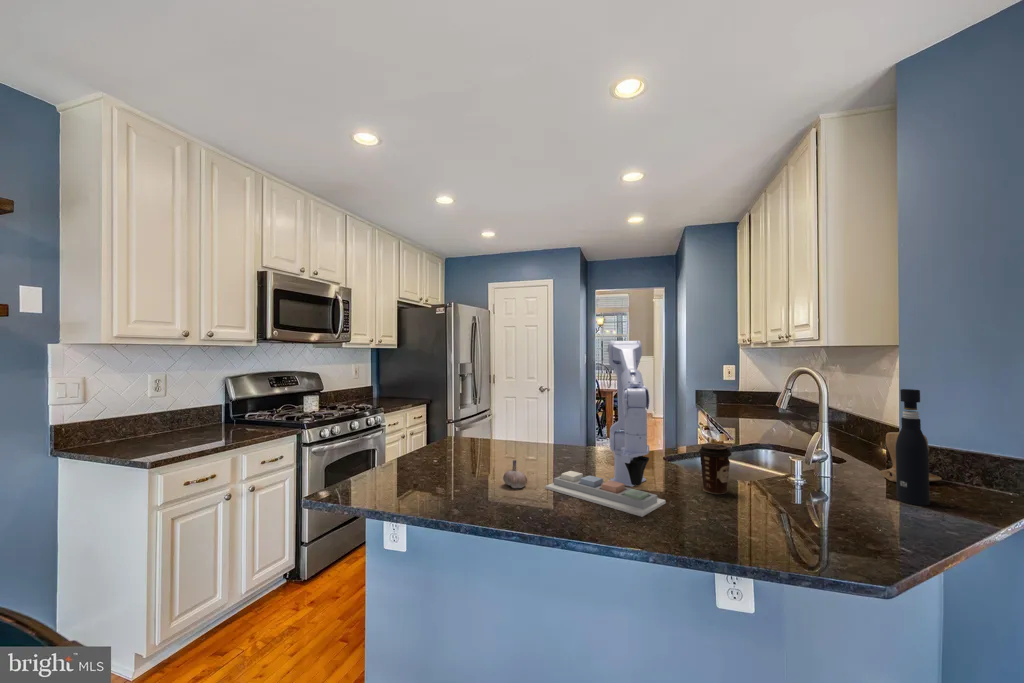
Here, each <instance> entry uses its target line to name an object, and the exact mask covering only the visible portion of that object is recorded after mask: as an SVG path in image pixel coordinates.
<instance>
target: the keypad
mask: <svg viewBox="0 0 1024 683" xmlns="http://www.w3.org/2000/svg"><path fill="white" fill-rule="evenodd" d="M584 477H585V476H583V478H584ZM605 482H606V481H603V483H605ZM544 489H546V490H549V491H553V492H556V493H560V494H563V495H567V496H570V497H574V498H577V499H580V500H583V501H587V502H589V503H594V504H597V505H600V506H604V507H608V508H611V509H615V510H618V511H620V512H625V513H627V514H631V515H635V516H638V517H642V518H643V517H645V516H646V515H648V514H650V513H651V512H653V511H655V510H656V509H659V508H660V507H662V506H664V505H665V504H667V503H666V499H663V498H660V497H658V495H657V494H655V493H650V492H648V493H649V497H647V498H645V499H643V500H639V499H635V498H632V497H628V496H624V493H625V492H627V491H629V490H631V489H632V487H631V488H630V487H627V486H625V491H623V492H621V493H618V494H616V493H613V492H609V491H605V490H601V486H599V487H597V488H593V487H590V486H586V485H582V484H580V481H578V482H575V483H574V482H571V481H567V480H563V479H561V475H560V476H556V477H554V478H553V482H552V483H550V484H546V485H545V488H544Z"/></svg>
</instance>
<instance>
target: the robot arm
mask: <svg viewBox="0 0 1024 683" xmlns="http://www.w3.org/2000/svg"><path fill="white" fill-rule="evenodd" d="M642 348H643V346H642V342H641V341H640V340H639V339H638V340H637V339H636V340H613V339H611V340H609V341H608V347H607V352H608V364H609V367H610V368H611V369H613V370H614V371H615V374H616V386H617V387H616V388H617V390H616V391H617V418H618V420H617V421H615V422H614V423H613V424H611V426H610V428H609V449H610V451H611V452H612V453H613V454H614V457H613V458H614V461H613V462H614V477H613V478H611V479H608V481H610V480H611V481H615V482H619V483H624V484H625V487H629V488H630V487H631V488H632V487H635V486H637V487H640V486H641V485H642V483H644V482H646V481H647V478H644V473H645V469H646V468H647V464H648V462H649V460H650V457H649V456H646V455H648V454H649V453H650V445H649V444H648V410H649V408H650V394H649V392H650V391H649V389H648V387H647V386H646V385H645V384H644V379H643V375H642V373H641V372H640V370H638V369H637V368H639V365H640V362H641V358H642V356H643V355H642V354H643V351H642Z"/></svg>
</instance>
